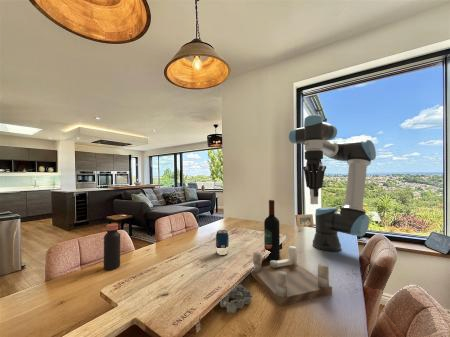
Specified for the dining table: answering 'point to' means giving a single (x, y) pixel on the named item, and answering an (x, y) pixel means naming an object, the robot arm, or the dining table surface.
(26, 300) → the dining table surface
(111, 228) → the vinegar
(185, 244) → the dining table surface
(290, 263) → the hinged leg
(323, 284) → the stool seat
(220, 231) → the soda can
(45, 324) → the dining table surface
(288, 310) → the dining table surface
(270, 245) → the wine bottle
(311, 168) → the robot arm
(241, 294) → the egg carton
